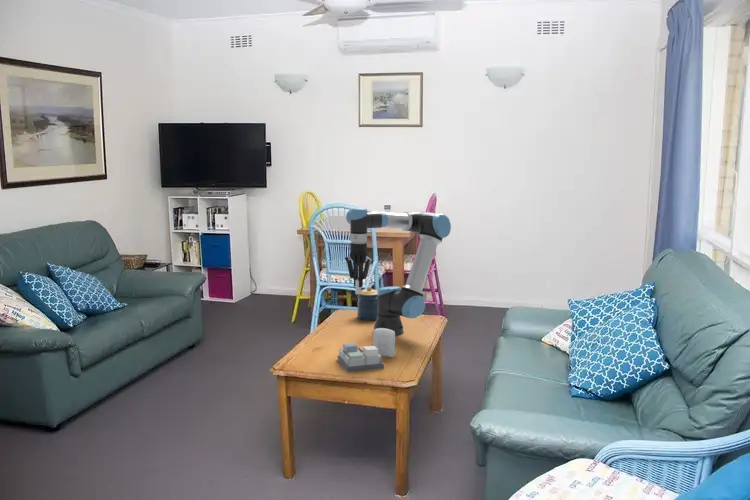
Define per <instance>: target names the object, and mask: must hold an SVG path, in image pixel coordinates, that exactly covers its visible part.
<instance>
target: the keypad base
mask: <svg viewBox="0 0 750 500" xmlns="http://www.w3.org/2000/svg"><path fill="white" fill-rule="evenodd" d="M338 350H339V351H338V355H337V356H336V357H337V358H336V359H337V362H338V363H339V364H340V365H341V366H342V368H343V369H344V370H345V371H346V372H347V373H354V372H361V371H363V372H364V371H373V370H380V369H381V370H383V369H385V363H384V362H383V356H381V355H380V354H379V353H378V356H376V357H366V356H365V355H363V352H360V351H359V350H358V347H357V352H360V353H361V354H362V358H355V359H350V358H349V357H348V354H345V353H344V351H343V348H342V349H341V348H340V349H338Z"/></svg>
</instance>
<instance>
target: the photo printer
mask: <svg viewBox="0 0 750 500" xmlns="http://www.w3.org/2000/svg"><path fill="white" fill-rule="evenodd" d="M372 334H373V335H372V346H375V347H376V348H377V349H378V353H379V354H380V355H381V356H382V357H389V358H393V357H395V356H396V355H395V352H396V335H395V332H394V331H393V330H390V329H387V328H377V329H375V330H374V329H373V333H372Z"/></svg>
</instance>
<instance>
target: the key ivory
mask: <svg viewBox="0 0 750 500" xmlns="http://www.w3.org/2000/svg"><path fill="white" fill-rule="evenodd" d="M365 346H366V347H363V355H365V356H366V357H376V356H378V349H377V348H376V347H375V346H373V345H365Z"/></svg>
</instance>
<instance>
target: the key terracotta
mask: <svg viewBox="0 0 750 500" xmlns="http://www.w3.org/2000/svg"><path fill="white" fill-rule="evenodd" d="M366 346H367V345H361V346H360V345H359V346H357V348H358V350H359V351H360V352H363V347H366Z"/></svg>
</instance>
